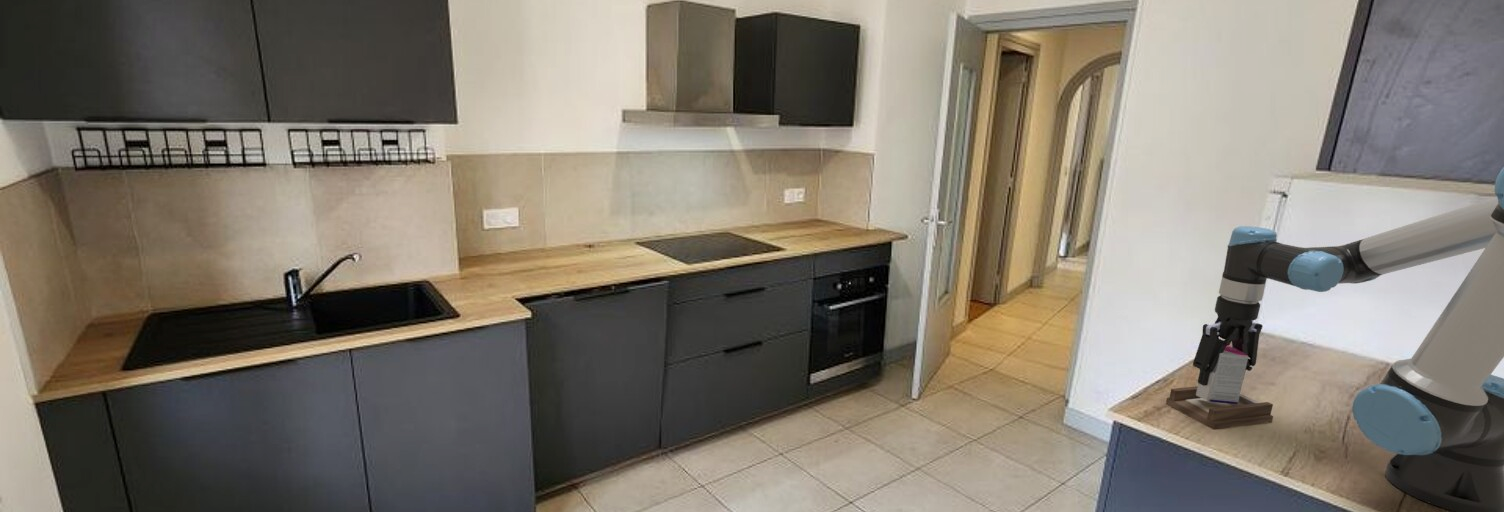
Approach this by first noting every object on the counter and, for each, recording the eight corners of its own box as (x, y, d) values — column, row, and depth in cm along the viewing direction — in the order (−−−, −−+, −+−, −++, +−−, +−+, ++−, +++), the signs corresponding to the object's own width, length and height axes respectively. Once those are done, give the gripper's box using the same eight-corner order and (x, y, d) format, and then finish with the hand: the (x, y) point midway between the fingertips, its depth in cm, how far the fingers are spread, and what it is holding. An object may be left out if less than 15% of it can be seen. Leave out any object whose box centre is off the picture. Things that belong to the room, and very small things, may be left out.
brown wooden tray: (1271, 422, 141) (1275, 405, 140) (1213, 429, 137) (1217, 412, 136) (1221, 397, 152) (1224, 382, 151) (1165, 403, 148) (1169, 387, 147)
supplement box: (1239, 404, 140) (1249, 356, 137) (1208, 402, 141) (1218, 353, 138) (1225, 392, 145) (1235, 345, 143) (1196, 390, 147) (1205, 343, 144)
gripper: (1258, 291, 144) (1237, 385, 149) (1185, 295, 139) (1165, 392, 144) (1293, 301, 136) (1269, 400, 142) (1217, 306, 132) (1195, 408, 137)
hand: (1217, 396), depth 143 cm, fingers closed on supplement box, 7 cm apart
